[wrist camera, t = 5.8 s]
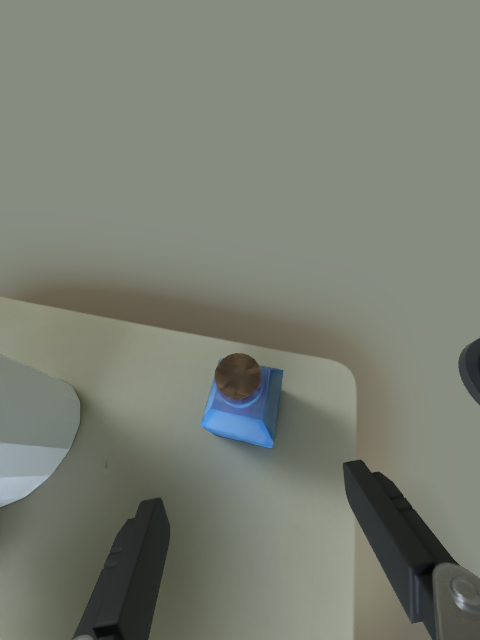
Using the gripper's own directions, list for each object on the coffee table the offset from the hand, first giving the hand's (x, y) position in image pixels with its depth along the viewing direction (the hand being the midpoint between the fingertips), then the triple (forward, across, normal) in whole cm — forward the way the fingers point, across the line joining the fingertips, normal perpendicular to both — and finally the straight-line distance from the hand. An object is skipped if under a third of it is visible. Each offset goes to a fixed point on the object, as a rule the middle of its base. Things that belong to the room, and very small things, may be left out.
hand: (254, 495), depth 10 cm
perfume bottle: (+15, 0, +6) cm, 16 cm away
